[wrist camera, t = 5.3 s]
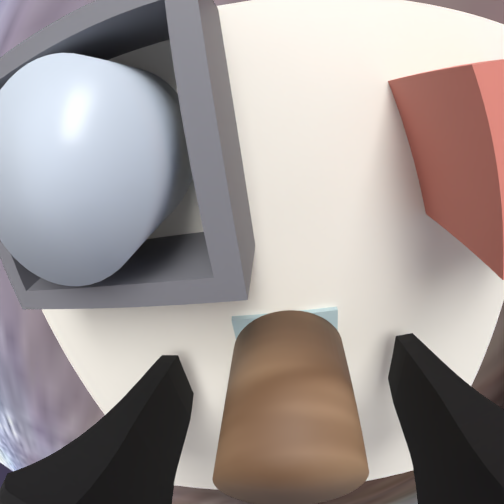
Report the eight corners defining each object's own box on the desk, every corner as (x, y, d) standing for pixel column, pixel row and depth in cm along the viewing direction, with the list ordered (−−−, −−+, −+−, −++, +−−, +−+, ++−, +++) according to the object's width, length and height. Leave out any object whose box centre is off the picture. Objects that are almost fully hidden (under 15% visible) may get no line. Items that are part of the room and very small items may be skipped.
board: (493, 31, 6) (565, 19, 2) (421, 454, 16) (432, 497, 13) (3, 105, 8) (-70, 119, 5) (166, 470, 19) (155, 513, 15)
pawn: (344, 303, 9) (381, 441, 5) (340, 383, 11) (358, 498, 6) (224, 315, 10) (192, 453, 5) (243, 391, 11) (229, 506, 7)
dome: (181, 44, 6) (131, 12, 4) (211, 222, 8) (182, 278, 6) (38, 99, 7) (-34, 108, 4) (71, 242, 9) (14, 290, 6)
